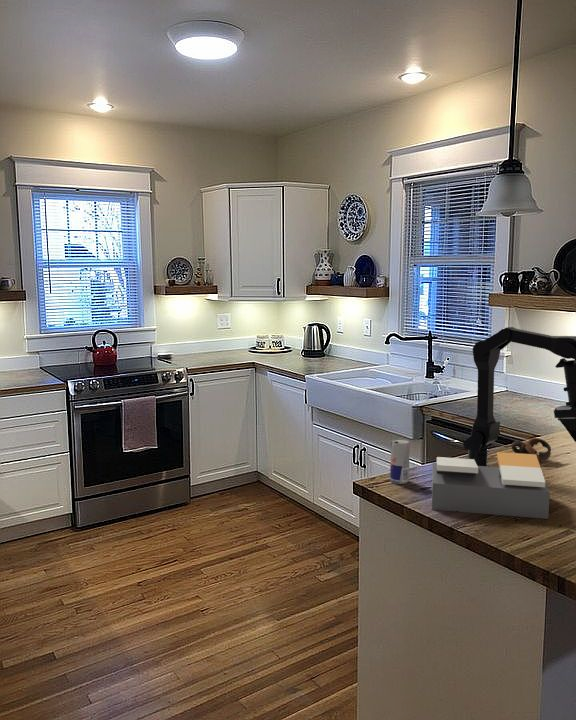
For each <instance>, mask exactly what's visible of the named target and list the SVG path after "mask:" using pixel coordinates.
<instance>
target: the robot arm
mask: <svg viewBox="0 0 576 720" xmlns="http://www.w3.org/2000/svg"><path fill="white" fill-rule="evenodd" d="M510 343H515V344H519V345H525V346H529V347H532V348H533V347H534V348H538V349H543V350H547V351H549V352H551V354H552V353H553V354H554V355H556V356H558V357H561V358H560V360H559V361H558V362H557V364H555V368H556V369H557V368H560V369H561V368H563V371H564V378H565V387H563V392H566V394H567V399H568V401H566V402H565V405H560V406H557V407H555V409H554V410H553V416H554V419H557V421H559V422H560V423H561V424H562V426H563V427H564V428H565V430H566V431H567V432H568V433H569V435H570V437H571V438H572V439H573V441H574V442H575V443H576V336H575V335H550V334H545V333H540V332H535V331H530V330H524V329H519V328H516V327H513V326H508V327H503V328H501V330H499V331H498V332H496V333H495V334H492V335H491V336H489V337H487V338H486V339H484V340H479V341H477V342H476V343H475V344H474V345H473V346H472V357H473V361H474V362H473V363H474V364H475V366H476V368H477V392H476V393H477V395H476V396H477V397H476V398H477V402H476V405H477V407H476V409H477V410H476V418H475V420H474V422H473V424H472V428H471V433H470V436H469V437H468V438H467V439H465V440H464V441H462V443H463V444H462V445H463V449H464V450H467V451H468V452H467V459H474V460H475V462H476V464H477V466H487V467H490V466H489V465H488V452H489V451H488V449H489V448H491V447H492V445H493V443H494V442H495V441H497V440H498V438H499V435H501V431H500V426H501V422H500V421H497V420H496V419H495V417H494V399H495V398H494V396H495V390H494V389H495V388H494V387H495V369H496V367H497V364H498V362H499V359H500V354H501V350H503V349H505V348H506V347H507V346H508V345H509V344H510Z"/></svg>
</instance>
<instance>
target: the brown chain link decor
mask: <svg viewBox="0 0 576 720" xmlns="http://www.w3.org/2000/svg"><path fill="white" fill-rule="evenodd" d="M538 444H540V445H541V446H542V447H544V448H546V449H547V451H537V450H536V449H535V448H534V446H536V445H538ZM510 446H511V450H512V451H513V453H520V454H536V456H537V459H538V461H539V463H541V462H545V461H546V460H549V458H550V457H551V456H552V453H551V451H552V448H551V445H550V444H549V442H547V441H545V440H544V439H541V438H539V437H531V438H530V439H528V440H526V441H524V442H523V441H520V440H515V441H513V442H512V443H511V445H510ZM517 447H518V448H517Z"/></svg>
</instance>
